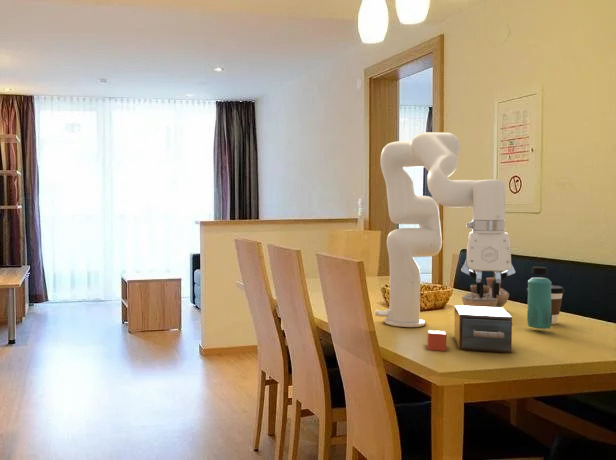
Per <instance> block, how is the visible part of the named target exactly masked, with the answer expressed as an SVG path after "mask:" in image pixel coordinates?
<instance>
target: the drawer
mask: <svg viewBox="0 0 616 460" xmlns="http://www.w3.org/2000/svg"><path fill="white" fill-rule="evenodd" d="M510 325H511V322H510V321H507V320H504V319H485V318H465V317H463V318H462V348H474V349H489V350H504V351H510Z"/></svg>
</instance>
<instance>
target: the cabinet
mask: <svg viewBox="0 0 616 460" xmlns="http://www.w3.org/2000/svg"><path fill="white" fill-rule="evenodd" d="M463 317H465V318H485V319H504V320H507V321H510V322H511V325H510V351H504V350H489V349H474V348H462V318H463ZM453 330H454V332H453V333H454V334H453V335H454V336H453V337H454V340H455V342H456V343H455V344H456V345H457V347H458V350H461V351H463V350H464V351H476V352H477V351H479V352H491V353H506V354H512V349H513V348H512V347H513V346H512V341H513V340H512V339H513V337H512V336H513V317H512V316H511V314H510V313H509V312H507V310H505V308H504V307H502V308H499V307H477V306H464V305H454V329H453Z"/></svg>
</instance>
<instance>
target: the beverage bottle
mask: <svg viewBox="0 0 616 460" xmlns="http://www.w3.org/2000/svg"><path fill="white" fill-rule="evenodd" d="M531 274H533V275H548V268H547V267H546V266H545V267H544V266H533V267H532V268H531ZM551 285H552V281H551V280H550V279H549V278H547V277H538V276H537V277H535V276H534V277H531V278H530V279H528V280H527V288H528V291H527V302H526V303H527V308H526V309H527V311H526V312H527V316H526V317H527V318H526V319H527V320H526V322H527V326H528V327H529V328H533V329H540V330H541V329H542V330H547V329H549V330H550V329H551V328H552V325H553V324H551V323H552V313H551V310H552V309H551V307H552V304H551Z"/></svg>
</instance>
